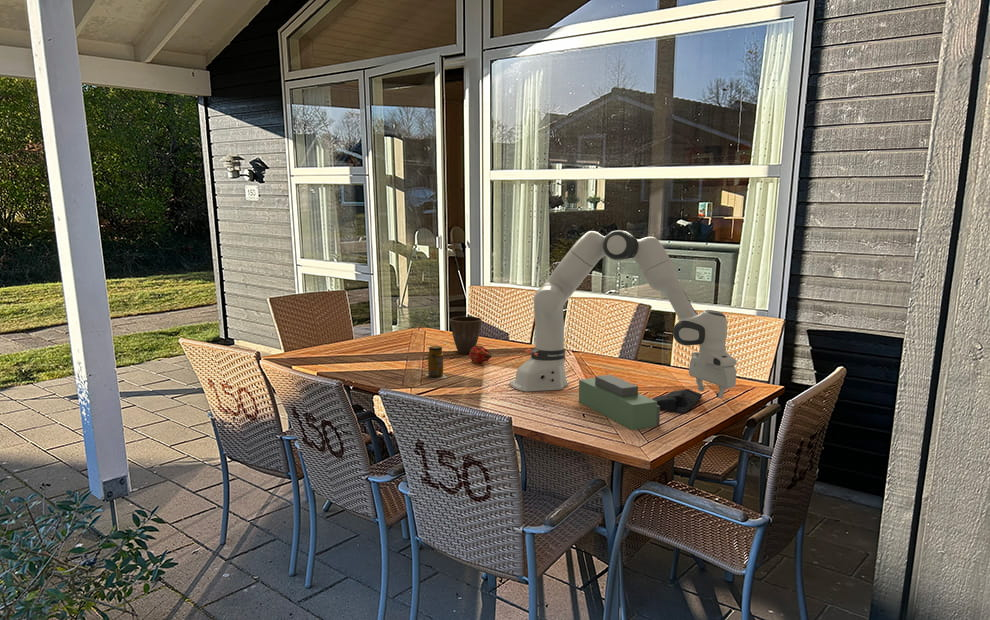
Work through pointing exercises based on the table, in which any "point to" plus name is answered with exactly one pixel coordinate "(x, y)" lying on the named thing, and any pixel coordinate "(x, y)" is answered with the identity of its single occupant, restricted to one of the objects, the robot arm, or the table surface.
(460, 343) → the plant pot
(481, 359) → the dragon fruit
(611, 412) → the block
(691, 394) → the black crumpled cloth
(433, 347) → the condiment
